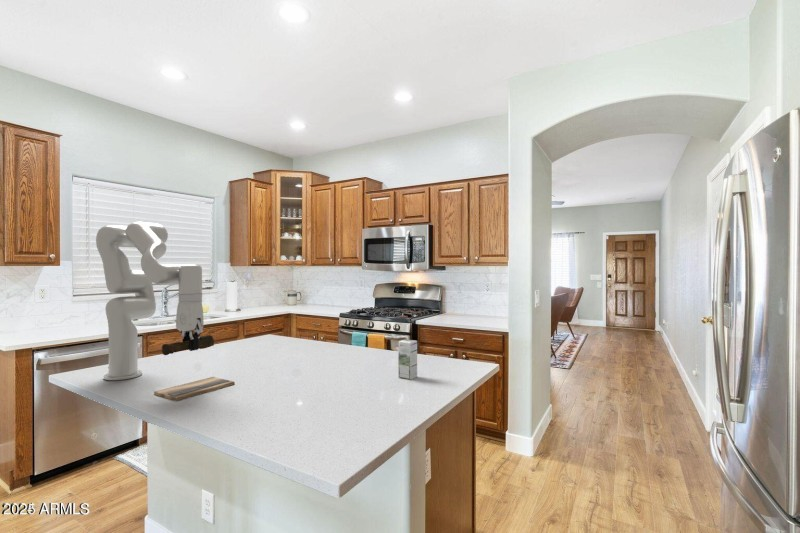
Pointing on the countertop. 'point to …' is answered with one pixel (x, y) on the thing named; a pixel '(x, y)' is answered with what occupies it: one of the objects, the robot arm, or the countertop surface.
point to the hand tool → (187, 345)
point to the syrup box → (407, 359)
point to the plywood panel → (193, 388)
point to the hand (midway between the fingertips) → (190, 349)
